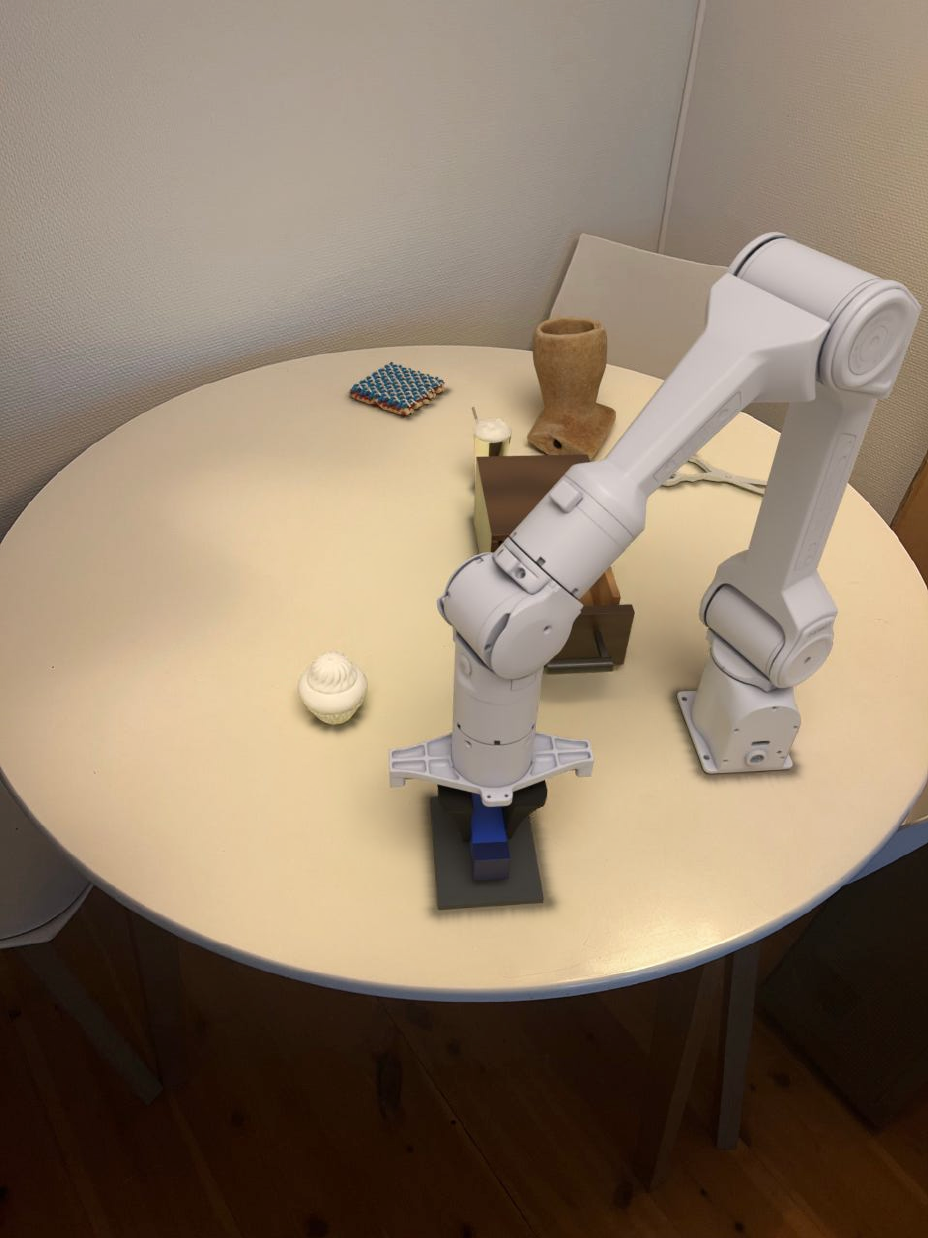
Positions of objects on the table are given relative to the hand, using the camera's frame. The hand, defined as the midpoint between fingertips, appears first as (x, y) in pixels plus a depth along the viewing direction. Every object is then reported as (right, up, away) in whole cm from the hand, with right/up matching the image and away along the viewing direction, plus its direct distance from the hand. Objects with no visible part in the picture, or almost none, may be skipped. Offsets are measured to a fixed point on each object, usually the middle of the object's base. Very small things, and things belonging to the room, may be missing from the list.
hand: (485, 830), depth 69 cm
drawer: (+8, +15, +19) cm, 26 cm away
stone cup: (+12, +41, +50) cm, 66 cm away
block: (0, -1, +1) cm, 1 cm away
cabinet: (+6, +23, +30) cm, 39 cm away
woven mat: (-11, +48, +57) cm, 76 cm away
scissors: (+31, +34, +43) cm, 63 cm away
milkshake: (+1, +33, +40) cm, 52 cm away
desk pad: (0, -2, +2) cm, 3 cm away
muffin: (-13, +8, +12) cm, 20 cm away
